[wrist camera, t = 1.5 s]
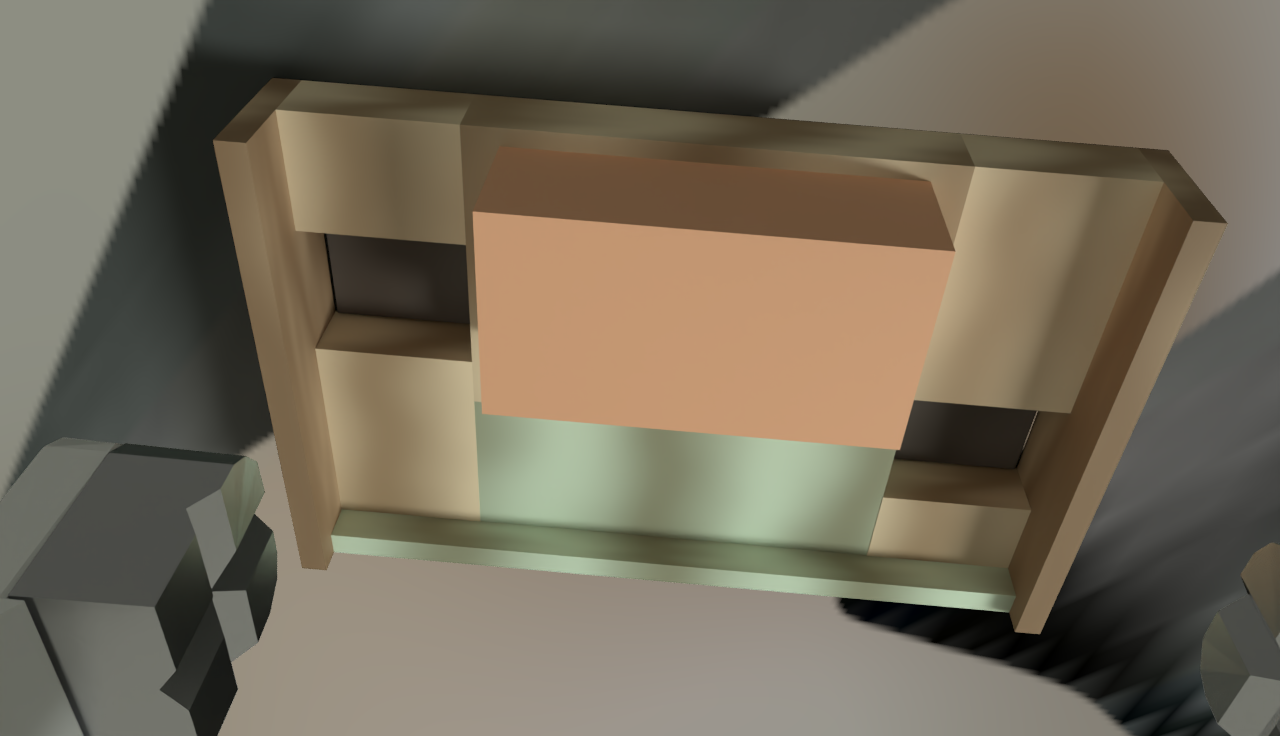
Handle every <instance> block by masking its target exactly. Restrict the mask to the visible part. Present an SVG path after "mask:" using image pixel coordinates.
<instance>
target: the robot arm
mask: <svg viewBox="0 0 1280 736" xmlns="http://www.w3.org/2000/svg"><path fill="white" fill-rule="evenodd" d="M264 493H265V491H264V487H263V483H262V479H261V475H260V472H259V467H258V463H257V462H256V461H254V460H252V459H250V458H249V457H247V456H241V455H231V454H222V453H213V452H204V451H194V450H185V449H176V448H167V447H158V446H148V445H139V444H130V443H125V444H116V443H107V442H99V441H90V440H81V439H73V438H64V437H63V438H61V439H59V440H57V441H55V442H53V443H51V444H49V445H47V446H45V447H44V448H43V449H42V450H41V451H40V452H39V453H38V455H37V456H36V457H35V458H34V460H33V461H32V462H31V463H30V465H29V466H28V467H27V468H26V470H25V471H24V472H23V473H22V475H21V476H20V477H19V478H18V480H17V481H16V482H15V483H14V485H13V486H12V487H11V488H10V490H9V491H8V492H7V493H6V495H5V496H4V497H3V498H2V500H1V501H0V736H218V733H219V731H220V729H221V726H222V724H223V722H224V720H225V717H226V715H227V713H228V711H229V708H230V706H231V704H232V701H233V699H234V697H235V695H236V692H237V690H238V688H237V684H236V680H235V676H234V672H233V668H232V664H231V662H232V661H234V660H235V659H236V658H238V657H239V656H240V655H242V654H243V653H244V652H246V651H247V650H249V649H250V648H251V647H253V646H254V645H255V644H257V643H258V641H259V639H260V636H261V634H262V631H263V629H264V626H265V624H266V622H267V619H268V617H269V614H270V610H271V605H272V601H273V596H274V591H275V586H276V581H277V550H276V545H275V539H274V534H273V531H272V530H271V529H270V528H269V527H268V526H267V525H266V524H265V523H264V522H263V521H262V520H260V519H259V518H258V517H257V516H256V515H255V514H254V513H255V511H256V509H257V507H258V505H259V503H260V501H261V499H262V497H263V495H264ZM1241 577H1242V580H1243V583H1244V585H1245V588H1246V591H1247V593H1248V594H1247V595H1246V596H1244V597H1242V598H1240V599H1238V600H1237V601H1235V602H1233V603H1231V604H1230V605H1228V606H1226V607H1224V608H1223V609H1221V610H1219V611H1218V612H1217V614H1216V615H1215V617H1214V619H1213V621H1212V623H1211V625H1210V626H1209V628H1208V630H1207V632H1206V634H1205V636H1204V637H1203V643H1202V655H1201V667H1200V672H1201V677H1202V681H1203V686H1204V691H1205V696H1206V698H1207V701H1208V703H1209V705H1210V707H1211V710H1212V712H1213V714H1214V717H1215V719H1216V721H1217V723H1218V724H1219V725H1220V726H1221V727H1222V728H1223V729H1224V730H1225V731H1227V732H1228V733H1229V734H1230V735H1231V736H1280V543H1273V542H1272V543H1270V544H1268V545H1267V546H1265V547H1263V548H1262V549H1260V550H1259V551H1257V552H1255V553H1254V554H1253V556H1252V557H1251V559H1250V561H1249V562H1248V564H1247V565H1246V567H1245V568H1244V570H1243V571H1242V573H1241Z"/></svg>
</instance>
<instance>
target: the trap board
mask: <svg viewBox="0 0 1280 736" xmlns="http://www.w3.org/2000/svg"><path fill="white" fill-rule="evenodd" d="M213 144H214V148H215V153H216V158H217V163H218V168H219V172H220V177H221V182H222V187H223V191H224V196H225V201H226V206H227V211H228V215H229V220H230V225H231V230H232V235H233V239H234V244H235V249H236V254H237V258H238V263H239V268H240V273H241V278H242V282H243V287H244V292H245V297H246V301H247V306H248V311H249V316H250V321H251V325H252V330H253V335H254V340H255V345H256V349H257V354H258V359H259V364H260V368H261V373H262V378H263V383H264V388H265V392H266V397H267V402H268V407H269V412H270V416H271V421H272V426H273V431H274V435H275V440H276V445H277V450H278V455H279V459H280V464H281V469H282V474H283V478H284V483H285V488H286V493H287V497H288V502H289V507H290V512H291V517H292V521H293V526H294V531H295V535H296V540H297V545H298V550H299V555H300V560H301V564H302V568H308V569H319V570H327V568H328V565H329V563H330V560H331V558H332V555H333V553H334V552H340V553H351V554H362V555H374V556H385V557H396V558H408V559H418V560H430V561H441V562H453V563H464V564H474V565H485V566H497V567H508V568H520V569H530V570H541V571H554V572H564V573H575V574H587V575H598V576H609V577H620V578H632V579H643V580H654V581H665V582H676V583H687V584H698V585H699V584H700V585H710V586H722V587H732V588H743V589H755V590H766V591H777V592H788V593H799V594H811V595H822V596H833V597H844V598H855V599H866V600H878V601H889V602H900V603H911V604H923V605H934V606H945V607H956V608H967V609H979V610H990V611H1001V612H1009V613H1010V616H1011V620H1012V623H1013V627H1014V630H1015V632H1022V633H1033V634H1040V633H1041V630H1042V628H1043V626H1044V624H1045V622H1046V619H1047V617H1048V615H1049V613H1050V611H1051V609H1052V606H1053V604H1054V602H1055V600H1056V598H1057V595H1058V593H1059V591H1060V589H1061V587H1062V585H1063V582H1064V580H1065V578H1066V576H1067V574H1068V571H1069V569H1070V567H1071V565H1072V563H1073V560H1074V558H1075V556H1076V554H1077V552H1078V550H1079V547H1080V545H1081V543H1082V541H1083V539H1084V536H1085V534H1086V532H1087V530H1088V528H1089V526H1090V523H1091V521H1092V519H1093V517H1094V515H1095V512H1096V510H1097V508H1098V506H1099V504H1100V502H1101V499H1102V497H1103V495H1104V493H1105V491H1106V488H1107V486H1108V484H1109V482H1110V480H1111V478H1112V475H1113V473H1114V471H1115V469H1116V467H1117V464H1118V462H1119V460H1120V458H1121V456H1122V454H1123V451H1124V449H1125V447H1126V445H1127V443H1128V440H1129V438H1130V436H1131V434H1132V432H1133V429H1134V427H1135V425H1136V423H1137V421H1138V419H1139V416H1140V414H1141V412H1142V410H1143V408H1144V405H1145V403H1146V401H1147V399H1148V397H1149V395H1150V392H1151V390H1152V388H1153V386H1154V384H1155V381H1156V379H1157V377H1158V375H1159V373H1160V371H1161V368H1162V366H1163V364H1164V362H1165V360H1166V357H1167V355H1168V353H1169V351H1170V349H1171V347H1172V344H1173V342H1174V340H1175V338H1176V336H1177V333H1178V331H1179V329H1180V327H1181V325H1182V322H1183V320H1184V318H1185V316H1186V314H1187V312H1188V309H1189V307H1190V305H1191V303H1192V301H1193V298H1194V296H1195V294H1196V292H1197V289H1198V288H1199V285H1200V283H1201V281H1202V279H1203V277H1204V274H1205V272H1206V270H1207V268H1208V266H1209V264H1210V261H1211V259H1212V257H1213V254H1214V253H1215V250H1216V248H1217V246H1218V244H1219V242H1220V240H1221V237H1222V235H1223V233H1224V231H1225V229H1226V226H1227V224H1228V223H1227V222H1226V221H1225V220H1224V218H1223V217H1222V216H1221V215H1220V213H1219V212H1218V211H1217V210H1216V209H1215V207H1214V206H1213V205H1212V204H1211V202H1210V201H1209V200H1208V199H1207V198H1206V196H1205V195H1204V194H1203V193H1202V191H1201V190H1200V189H1199V188H1198V186H1197V185H1196V184H1195V183H1194V181H1193V180H1192V179H1191V178H1190V177H1189V175H1188V174H1187V173H1186V172H1185V170H1184V169H1183V168H1182V167H1181V165H1180V164H1179V163H1178V162H1177V160H1176V159H1175V158H1174V157H1173V156H1172V154H1171V153H1170V152H1169V151H1168V150H1158V149H1145V148H1133V147H1121V146H1120V147H1119V146H1108V145H1096V144H1084V143H1070V142H1059V141H1046V140H1034V139H1021V138H1009V137H997V136H985V135H984V136H983V135H972V134H960V133H947V132H935V131H922V130H909V129H898V128H886V127H873V126H861V125H848V124H836V123H824V122H811V121H799V120H787V119H775V118H762V117H750V116H737V115H725V114H713V113H700V112H688V111H676V110H663V109H651V108H639V107H626V106H614V105H601V104H589V103H577V102H564V101H552V100H540V99H527V98H515V97H503V96H490V95H478V94H466V93H453V92H441V91H428V90H416V89H404V88H391V87H379V86H367V85H354V84H342V83H330V82H317V81H305V80H293V79H280V78H272V79H271V80H270V81H269V82H268V83H267V84H266V85H265V86H264V87H263V88H262V89H261V90H260V91H259V92H258V93H257V94H256V95H255V96H254V97H253V99H252V100H251V101H250V102H249V103H248V104H247V105H246V106H245V107H244V108H243V109H242V110H241V111H240V112H239V113H238V114H237V115H236V116H235V117H234V119H233V120H232V121H231V122H230V123H229V124H228V125H227V126H226V127H225V128H224V129H223V130H222V131H221V132H220V133H219V134H218V135H217V136H216V137H215V139H214V140H213ZM499 146H502V147H515V148H527V149H539V150H551V151H564V152H576V153H588V154H600V155H612V156H625V157H637V158H649V159H661V160H674V161H686V162H698V163H710V164H722V165H735V166H747V167H759V168H771V169H784V170H796V171H808V172H820V173H832V174H845V175H857V176H869V177H881V178H894V179H906V180H918V181H930V182H931V184H932V187H933V189H934V192H935V195H936V198H937V201H938V203H939V206H940V209H941V212H942V215H943V217H944V220H945V223H946V226H947V229H948V231H949V234H950V237H951V240H952V243H953V245H954V248H955V251H956V252H955V256H954V259H953V263H952V266H951V270H950V274H949V277H948V281H947V284H946V288H945V291H944V295H943V298H942V302H941V306H940V309H939V313H938V316H937V320H936V323H935V327H934V330H933V334H932V338H931V341H930V345H929V348H928V352H927V355H926V359H925V362H924V366H923V370H922V373H921V377H920V380H919V384H918V387H917V391H916V394H915V398H914V402H913V405H912V409H911V412H910V416H909V419H908V423H907V426H906V430H905V434H904V437H903V441H902V444H901V448H900V450H893V449H882V448H870V447H858V446H847V445H835V444H824V443H812V442H801V441H789V440H778V439H766V438H754V437H743V436H731V435H720V434H708V433H697V432H685V431H674V430H662V429H650V428H639V427H627V426H616V425H604V424H593V423H581V422H570V421H558V420H546V419H535V418H523V417H512V416H500V415H489V414H482V403H481V382H480V360H479V339H478V317H477V296H476V275H475V253H474V232H473V209H474V207H475V204H476V202H477V200H478V197H479V195H480V192H481V190H482V187H483V185H484V183H485V180H486V178H487V175H488V173H489V170H490V168H491V166H492V163H493V161H494V158H495V156H496V153H497V151H498V149H499ZM324 233H327V240H328V247H329V254H330V261H331V268H332V275H333V281H334V288H335V295H336V302H337V309H338V312H336V311H335V304H334V297H333V290H332V283H331V277H330V270H329V263H328V256H327V249H326V243H325V236H324ZM1037 410H1038V413H1037V416H1036V418H1035V421H1034V424H1033V426H1032V429H1031V432H1030V434H1029V437H1028V440H1027V442H1026V445H1025V447H1024V450H1023V453H1022V455H1021V458H1020V461H1019V463H1018V466H1017V468H1015V467H1016V464H1017V461H1018V459H1019V456H1020V453H1021V451H1022V448H1023V445H1024V443H1025V440H1026V437H1027V435H1028V432H1029V429H1030V427H1031V424H1032V422H1033V419H1034V416H1035V413H1036V411H1037Z"/></svg>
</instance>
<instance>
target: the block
mask: <svg viewBox="0 0 1280 736" xmlns="http://www.w3.org/2000/svg"><path fill="white" fill-rule="evenodd" d="M473 232H474V253H475V275H476V296H477V317H478V339H479V360H480V382H481V403H482V414H489V415H500V416H512V417H523V418H535V419H546V420H558V421H570V422H581V423H593V424H604V425H616V426H627V427H639V428H650V429H662V430H674V431H685V432H697V433H708V434H720V435H731V436H743V437H754V438H766V439H778V440H789V441H801V442H812V443H824V444H835V445H847V446H858V447H870V448H882V449H893V450H900V448H901V444H902V441H903V437H904V434H905V430H906V426H907V423H908V419H909V416H910V412H911V409H912V405H913V402H914V398H915V394H916V391H917V387H918V384H919V380H920V377H921V373H922V370H923V366H924V362H925V359H926V355H927V352H928V348H929V345H930V341H931V338H932V334H933V330H934V327H935V323H936V320H937V316H938V313H939V309H940V306H941V302H942V298H943V295H944V291H945V288H946V284H947V281H948V277H949V274H950V270H951V266H952V263H953V259H954V256H955V252H956V251H955V248H954V245H953V243H952V240H951V237H950V234H949V231H948V229H947V226H946V223H945V220H944V217H943V215H942V212H941V209H940V206H939V203H938V201H937V198H936V195H935V192H934V189H933V187H932V184H931V182H930V181H918V180H906V179H894V178H881V177H869V176H857V175H845V174H832V173H820V172H808V171H796V170H784V169H771V168H759V167H747V166H735V165H722V164H710V163H698V162H686V161H674V160H661V159H649V158H637V157H625V156H612V155H600V154H588V153H576V152H564V151H551V150H539V149H527V148H515V147H502V146H499V149H498V151H497V153H496V156H495V158H494V161H493V163H492V166H491V168H490V170H489V173H488V175H487V178H486V180H485V183H484V185H483V187H482V190H481V192H480V195H479V197H478V200H477V202H476V204H475V207H474V209H473Z"/></svg>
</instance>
